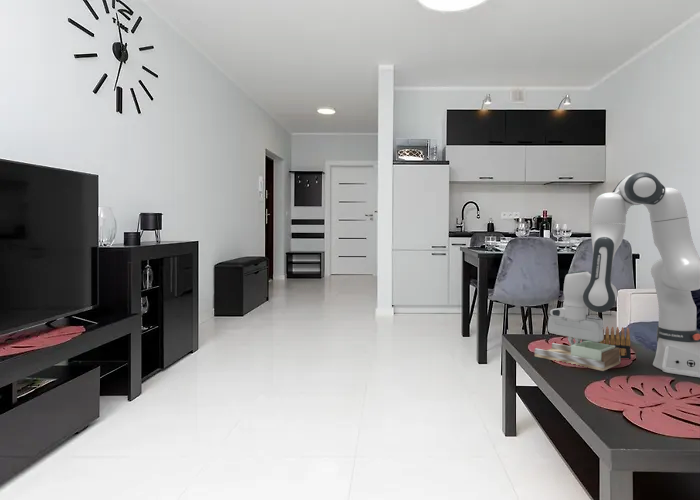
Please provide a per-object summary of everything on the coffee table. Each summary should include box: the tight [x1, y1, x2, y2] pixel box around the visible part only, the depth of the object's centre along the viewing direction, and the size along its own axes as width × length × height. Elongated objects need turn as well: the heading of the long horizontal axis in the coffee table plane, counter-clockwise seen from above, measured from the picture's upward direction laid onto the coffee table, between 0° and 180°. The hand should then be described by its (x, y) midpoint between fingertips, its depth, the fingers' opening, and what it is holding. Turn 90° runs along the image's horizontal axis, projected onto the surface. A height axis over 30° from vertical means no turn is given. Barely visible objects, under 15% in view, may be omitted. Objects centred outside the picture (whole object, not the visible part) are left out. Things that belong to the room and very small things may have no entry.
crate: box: [570, 341, 615, 361], centre depth 177 cm, size 11×11×5 cm
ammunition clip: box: [600, 326, 632, 360], centre depth 184 cm, size 11×2×12 cm, turn 70°
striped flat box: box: [534, 342, 622, 372], centre depth 182 cm, size 26×14×6 cm, turn 38°
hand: (574, 349), depth 183 cm, fingers closed
